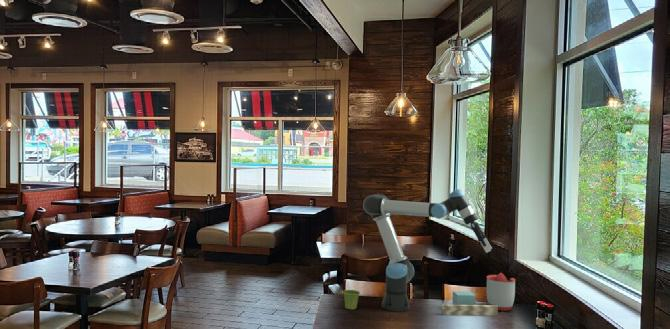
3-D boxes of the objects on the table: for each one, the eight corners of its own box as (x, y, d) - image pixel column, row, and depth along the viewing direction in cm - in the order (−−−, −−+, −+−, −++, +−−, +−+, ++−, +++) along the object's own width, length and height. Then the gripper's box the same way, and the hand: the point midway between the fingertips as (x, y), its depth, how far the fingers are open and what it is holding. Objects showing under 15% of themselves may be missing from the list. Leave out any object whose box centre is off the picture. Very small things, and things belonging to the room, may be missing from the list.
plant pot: (352, 304, 252) (353, 289, 253) (362, 309, 244) (363, 293, 245) (339, 306, 247) (339, 291, 247) (348, 311, 239) (349, 295, 240)
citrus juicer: (521, 308, 255) (522, 273, 255) (505, 314, 244) (506, 277, 244) (496, 301, 267) (497, 268, 267) (480, 306, 256) (481, 271, 256)
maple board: (442, 315, 239) (442, 305, 239) (441, 313, 241) (441, 304, 241) (497, 315, 241) (497, 306, 241) (496, 314, 243) (496, 305, 243)
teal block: (456, 311, 246) (457, 295, 246) (452, 307, 254) (452, 291, 254) (474, 311, 247) (475, 295, 247) (469, 307, 255) (470, 291, 255)
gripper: (472, 212, 235) (494, 249, 230) (476, 212, 258) (496, 245, 253) (460, 219, 237) (481, 256, 232) (464, 218, 260) (484, 251, 255)
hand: (489, 250), depth 242 cm, fingers open, 13 cm apart
